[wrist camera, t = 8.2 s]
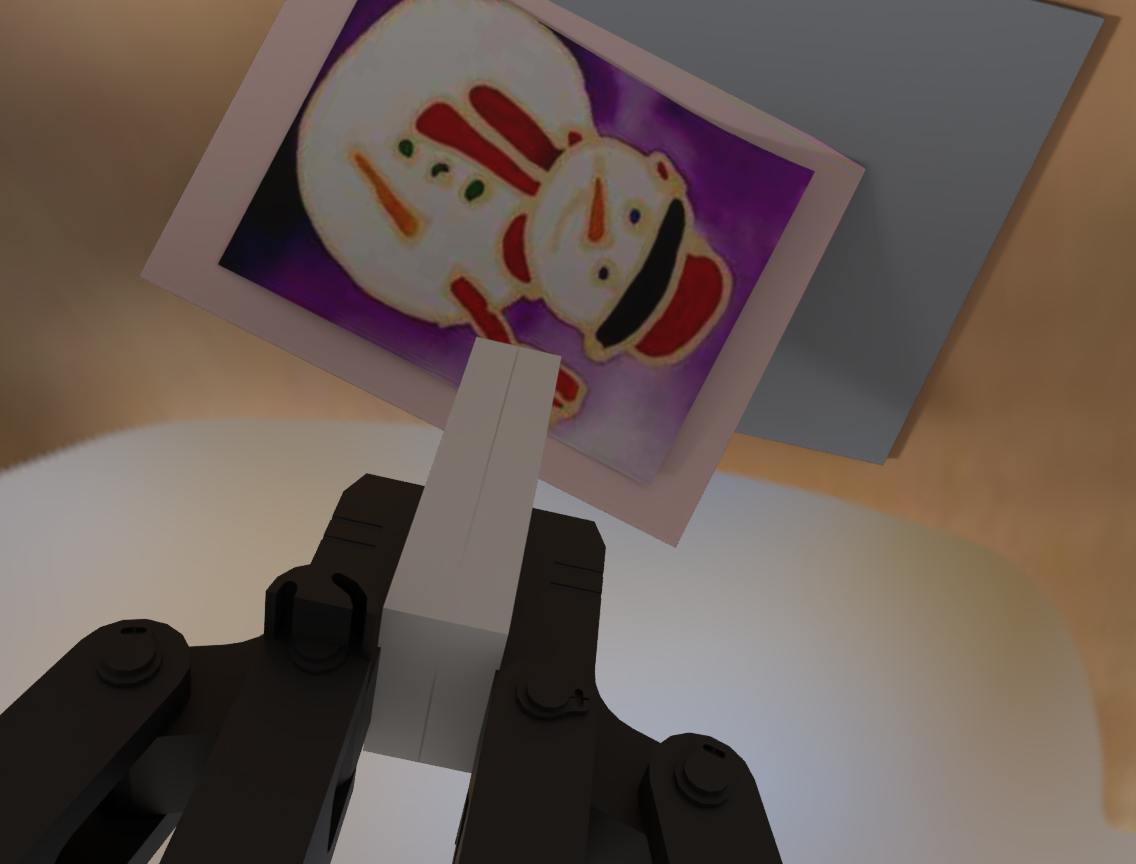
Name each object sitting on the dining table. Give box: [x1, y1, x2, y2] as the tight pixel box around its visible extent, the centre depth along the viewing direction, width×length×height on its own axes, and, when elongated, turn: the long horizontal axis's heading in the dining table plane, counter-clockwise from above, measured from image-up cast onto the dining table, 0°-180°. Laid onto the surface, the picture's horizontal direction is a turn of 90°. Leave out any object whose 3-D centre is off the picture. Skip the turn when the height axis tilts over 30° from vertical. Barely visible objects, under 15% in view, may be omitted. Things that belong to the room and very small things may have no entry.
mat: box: [548, 0, 1105, 465], centre depth 28 cm, size 14×16×1 cm
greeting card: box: [139, 0, 866, 548], centre depth 28 cm, size 11×7×15 cm
